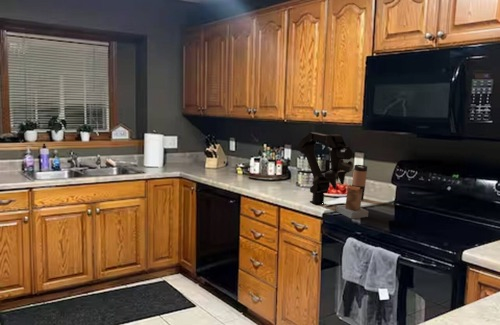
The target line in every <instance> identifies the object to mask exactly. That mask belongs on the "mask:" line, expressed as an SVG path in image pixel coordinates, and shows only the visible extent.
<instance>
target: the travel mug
mask: <svg viewBox="0 0 500 325" xmlns="http://www.w3.org/2000/svg"><path fill="white" fill-rule="evenodd" d="M367 172H368V166H367V165H363V164H355V165H354V164H353V174H352V175H353V176H352V181H351V182H352V183H351V187H352V186H355V187H360V189H362V197H361V201H363V200H364V196H365V190H366V183H367V174H368V173H367Z"/></svg>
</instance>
